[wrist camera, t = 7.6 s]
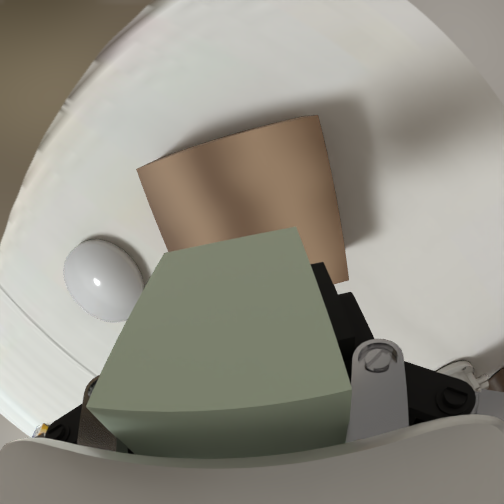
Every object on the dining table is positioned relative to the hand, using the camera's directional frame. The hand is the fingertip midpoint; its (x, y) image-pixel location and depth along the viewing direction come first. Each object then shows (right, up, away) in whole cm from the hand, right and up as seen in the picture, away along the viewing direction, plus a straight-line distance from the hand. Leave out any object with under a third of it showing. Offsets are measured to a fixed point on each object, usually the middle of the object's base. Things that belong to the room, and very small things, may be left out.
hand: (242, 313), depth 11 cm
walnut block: (0, +6, +13) cm, 14 cm away
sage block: (0, +1, +1) cm, 1 cm away
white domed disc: (-15, 0, +16) cm, 22 cm away
